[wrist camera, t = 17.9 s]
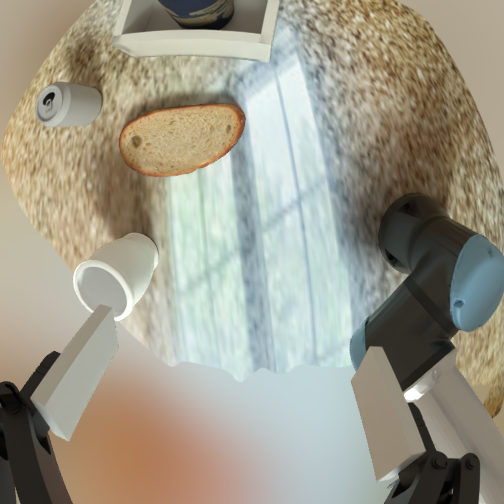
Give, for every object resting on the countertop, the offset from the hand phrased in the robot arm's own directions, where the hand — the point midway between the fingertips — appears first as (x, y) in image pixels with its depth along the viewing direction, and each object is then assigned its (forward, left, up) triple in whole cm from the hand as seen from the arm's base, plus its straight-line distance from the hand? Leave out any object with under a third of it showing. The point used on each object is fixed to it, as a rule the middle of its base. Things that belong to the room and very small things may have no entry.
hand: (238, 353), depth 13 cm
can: (+33, -14, -35) cm, 50 cm away
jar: (+20, +13, -35) cm, 42 cm away
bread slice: (+14, -9, -35) cm, 39 cm away
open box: (+13, -31, -35) cm, 48 cm away
